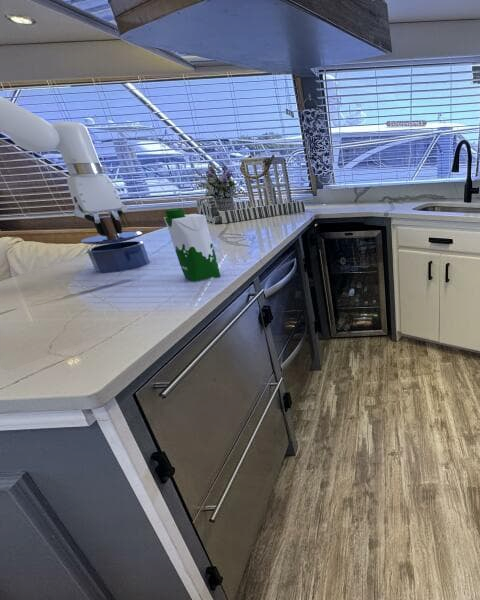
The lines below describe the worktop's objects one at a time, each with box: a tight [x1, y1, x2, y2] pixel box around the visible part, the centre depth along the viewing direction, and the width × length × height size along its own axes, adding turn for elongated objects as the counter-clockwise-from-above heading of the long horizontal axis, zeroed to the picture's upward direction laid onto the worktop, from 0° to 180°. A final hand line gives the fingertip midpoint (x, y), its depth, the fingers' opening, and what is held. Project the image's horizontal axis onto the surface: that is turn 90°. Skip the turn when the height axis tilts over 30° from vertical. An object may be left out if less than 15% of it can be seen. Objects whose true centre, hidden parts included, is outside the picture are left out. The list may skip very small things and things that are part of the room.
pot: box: [86, 240, 151, 274], centre depth 103 cm, size 14×19×8 cm
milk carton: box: [163, 208, 221, 283], centre depth 91 cm, size 9×9×20 cm
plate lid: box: [80, 215, 143, 245], centre depth 99 cm, size 15×15×7 cm
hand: (111, 233), depth 99 cm, fingers closed on plate lid, 3 cm apart
